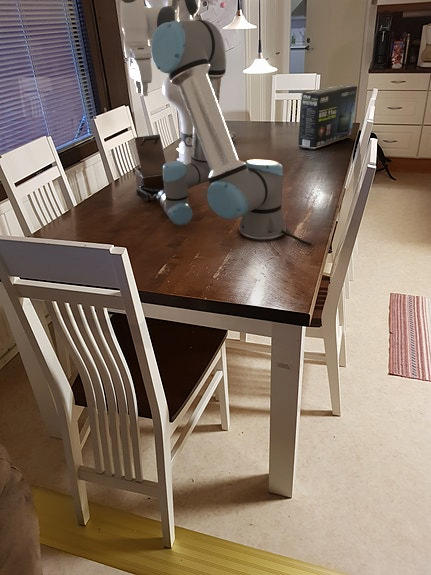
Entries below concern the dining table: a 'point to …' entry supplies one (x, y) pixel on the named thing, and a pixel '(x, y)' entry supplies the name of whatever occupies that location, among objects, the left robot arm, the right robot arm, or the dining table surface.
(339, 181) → the dining table surface
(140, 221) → the dining table surface
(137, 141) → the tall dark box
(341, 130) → the router box
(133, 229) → the dining table surface
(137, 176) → the chest
